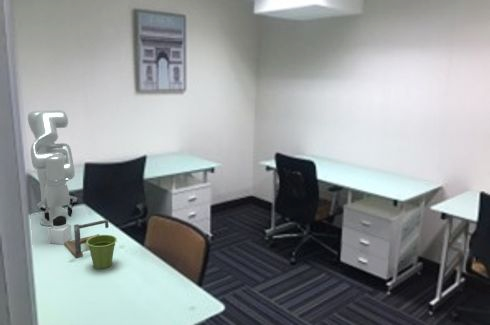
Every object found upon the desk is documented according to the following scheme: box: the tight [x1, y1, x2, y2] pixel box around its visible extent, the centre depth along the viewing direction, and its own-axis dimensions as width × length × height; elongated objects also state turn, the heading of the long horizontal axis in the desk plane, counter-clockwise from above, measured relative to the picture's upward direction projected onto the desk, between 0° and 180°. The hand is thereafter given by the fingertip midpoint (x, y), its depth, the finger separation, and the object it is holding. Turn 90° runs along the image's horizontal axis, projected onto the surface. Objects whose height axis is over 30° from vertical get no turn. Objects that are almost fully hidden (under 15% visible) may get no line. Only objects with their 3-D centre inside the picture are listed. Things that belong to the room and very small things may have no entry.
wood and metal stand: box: [63, 219, 109, 259], centre depth 183 cm, size 16×16×14 cm
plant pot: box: [86, 234, 118, 270], centre depth 167 cm, size 12×12×11 cm
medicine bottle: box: [47, 215, 72, 245], centre depth 188 cm, size 7×7×12 cm
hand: (59, 217), depth 187 cm, fingers open, 9 cm apart
